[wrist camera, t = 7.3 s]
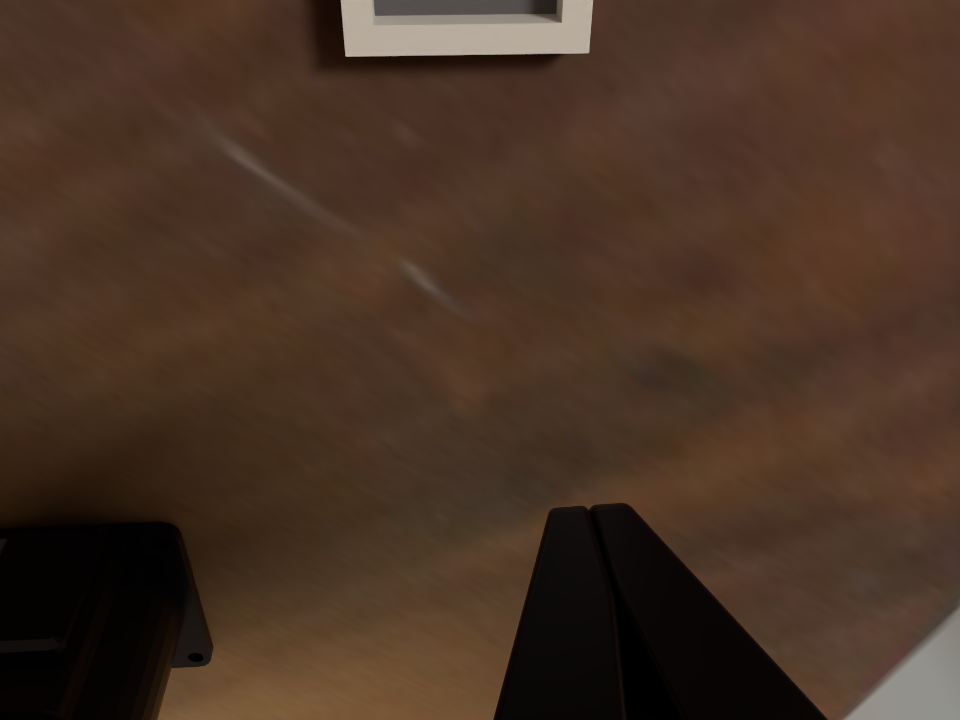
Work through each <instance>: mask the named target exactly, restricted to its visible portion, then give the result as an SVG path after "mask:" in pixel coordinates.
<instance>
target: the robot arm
mask: <svg viewBox="0 0 960 720" xmlns="http://www.w3.org/2000/svg"><path fill="white" fill-rule="evenodd" d="M160 538H164V539H166V540H163V539H160ZM212 653H213V644H212V641H211V637H210V634H209V630H208V626H207V623H206V619H205V616H204V612H203V609H202V605H201V602H200V598H199V595H198V591H197V588H196V584H195V580H194V577H193V573H192V570H191V566H190V563H189V559H188V556H187V552H186V549H185V545H184V542H183V538H182V534H181V532H180V530H179V529H178V528H177V527H176V526H174V525H172V524H169V523H164V522H155V523H132V524H109V525H86V526H63V527H40V528H17V529H0V720H157V719H158V715H159V712H160V708H161V704H162V701H163V697H164V693H165V690H166V686H167V682H168V678H169V675H170V671H171V668H181V667H199V666H204V665H206V664H208V663H209V662H210V661H211V657H212ZM493 720H828V719H827V718H826V717H825V716H824V715H823V714H822V712H821V711H820V710H819V709H818V708H817V707H816V706H815V705H814V704H813V703H812V702H811V701H810V699H809V698H808V697H807V696H806V695H805V694H804V693H803V692H802V691H801V690H800V689H799V688H798V686H797V685H796V684H795V683H794V682H793V681H792V680H791V679H790V678H789V677H788V676H787V675H786V674H785V672H784V671H783V670H782V669H781V668H780V667H779V666H778V665H777V664H776V663H775V662H774V661H773V659H772V658H771V657H770V656H769V655H768V654H767V653H766V652H765V651H764V650H763V649H762V648H761V647H760V645H759V644H758V643H757V642H756V641H755V640H754V639H753V638H752V637H751V636H750V635H749V634H748V632H747V631H746V630H745V629H744V628H743V627H742V626H741V625H740V624H739V623H738V622H737V621H736V619H735V618H734V617H733V616H732V615H731V614H730V613H729V612H728V611H727V610H726V609H725V608H724V607H723V605H722V604H721V603H720V602H719V601H718V600H717V599H716V598H715V597H714V596H713V595H712V594H711V592H710V591H709V590H708V589H707V588H706V587H705V586H704V585H703V584H702V583H701V582H700V581H699V580H698V578H697V577H696V576H695V575H694V574H693V573H692V572H691V571H690V570H689V569H688V568H687V567H686V565H685V564H684V563H683V562H682V561H681V560H680V559H679V558H678V557H677V556H676V555H675V554H674V553H673V551H672V550H671V549H670V548H669V547H668V546H667V545H666V544H665V543H664V542H663V541H662V540H661V538H660V537H659V536H658V535H657V534H656V533H655V532H654V531H653V530H652V529H651V528H650V527H649V525H648V524H647V523H646V522H645V521H644V520H643V519H642V518H641V517H640V516H639V515H638V514H637V513H636V511H635V510H634V509H633V508H632V507H631V506H629V505H628V504H625V503H615V504H601V505H594V506H592V507H591V508H590V509H589V510H588V509H587V508H586V507H584V506H573V507H560V508H553V509H551V510H550V512H549V514H548V517H547V521H546V524H545V528H544V532H543V536H542V539H541V543H540V547H539V551H538V554H537V558H536V562H535V566H534V569H533V573H532V577H531V581H530V584H529V588H528V592H527V596H526V599H525V603H524V607H523V611H522V614H521V618H520V622H519V626H518V629H517V633H516V637H515V641H514V644H513V648H512V652H511V655H510V659H509V663H508V667H507V670H506V674H505V678H504V682H503V685H502V689H501V693H500V697H499V700H498V704H497V708H496V712H495V715H494V719H493Z"/></svg>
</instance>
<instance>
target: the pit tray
mask: <svg viewBox="0 0 960 720" xmlns="http://www.w3.org/2000/svg"><path fill="white" fill-rule="evenodd" d="M592 5H593V0H341V9H342V20H343V32H344V44H345V56H346V57H353V56H424V55H496V54H567V53H589V45H590V32H591V19H592Z"/></svg>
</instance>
